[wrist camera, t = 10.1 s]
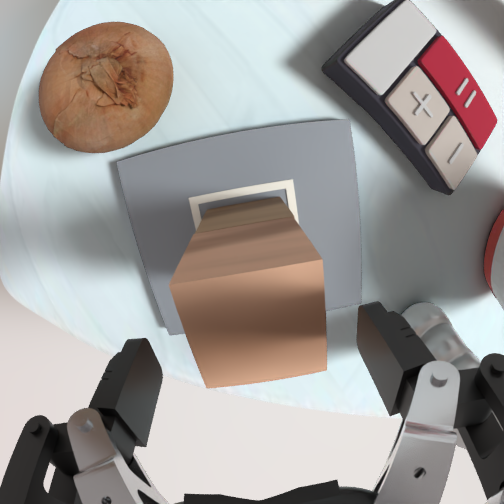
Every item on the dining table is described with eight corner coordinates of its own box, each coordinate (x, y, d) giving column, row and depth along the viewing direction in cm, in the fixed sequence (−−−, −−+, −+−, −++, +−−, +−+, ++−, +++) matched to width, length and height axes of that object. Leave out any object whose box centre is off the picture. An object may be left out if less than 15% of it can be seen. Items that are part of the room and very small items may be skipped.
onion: (180, 90, 21) (226, 64, 13) (109, 173, 21) (112, 193, 13) (106, 28, 16) (114, -29, 8) (31, 112, 15) (-11, 97, 7)
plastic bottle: (435, 286, 26) (552, 411, 7) (431, 332, 28) (518, 453, 10) (386, 306, 26) (493, 465, 8) (387, 352, 29) (462, 494, 10)
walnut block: (207, 209, 21) (194, 233, 15) (279, 196, 21) (294, 216, 15) (221, 275, 23) (216, 316, 17) (289, 263, 23) (304, 302, 17)
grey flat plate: (122, 160, 20) (115, 162, 19) (344, 120, 20) (350, 119, 19) (171, 327, 26) (169, 335, 25) (356, 296, 26) (361, 303, 25)
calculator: (455, 200, 19) (337, 57, 15) (427, 189, 23) (318, 69, 19) (503, 122, 16) (408, -10, 12) (475, 119, 20) (384, 5, 16)
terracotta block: (193, 233, 15) (168, 284, 10) (293, 216, 15) (322, 259, 10) (215, 317, 17) (206, 388, 12) (302, 302, 17) (326, 370, 12)
